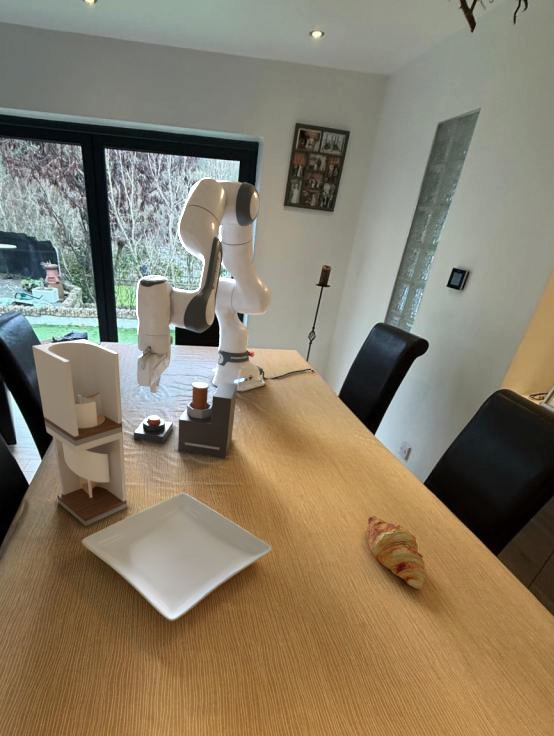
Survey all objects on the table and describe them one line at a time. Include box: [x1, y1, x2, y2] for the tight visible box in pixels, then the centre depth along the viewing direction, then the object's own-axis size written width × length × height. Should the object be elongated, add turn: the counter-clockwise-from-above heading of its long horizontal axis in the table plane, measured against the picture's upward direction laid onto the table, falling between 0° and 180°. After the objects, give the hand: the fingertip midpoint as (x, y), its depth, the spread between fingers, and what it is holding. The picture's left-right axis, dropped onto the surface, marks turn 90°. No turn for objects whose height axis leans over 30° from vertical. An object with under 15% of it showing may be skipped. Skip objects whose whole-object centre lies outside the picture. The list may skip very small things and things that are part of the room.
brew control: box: [133, 417, 174, 444], centre depth 127 cm, size 11×9×4 cm
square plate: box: [81, 492, 273, 622], centre depth 82 cm, size 27×27×4 cm
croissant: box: [366, 515, 426, 590], centre depth 88 cm, size 21×10×8 cm, turn 11°
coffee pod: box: [191, 381, 210, 410], centre depth 117 cm, size 5×5×8 cm
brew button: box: [147, 414, 161, 425], centre depth 126 cm, size 4×4×2 cm
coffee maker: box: [177, 382, 238, 459], centre depth 120 cm, size 12×14×18 cm
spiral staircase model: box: [31, 338, 128, 527], centre depth 86 cm, size 11×11×35 cm
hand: (154, 391), depth 122 cm, fingers closed
